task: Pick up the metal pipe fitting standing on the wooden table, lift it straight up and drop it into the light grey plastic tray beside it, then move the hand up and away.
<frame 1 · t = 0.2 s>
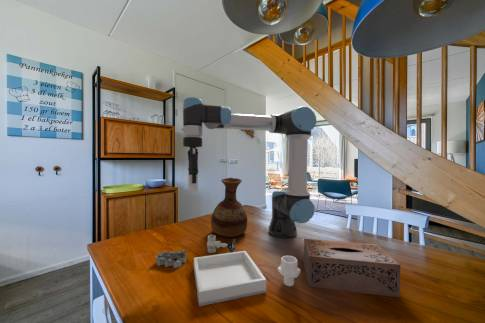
hand: (192, 189, 83), 28 cm above the table, tool pointing down, fingers open, 13 cm apart
grey open frame part: (171, 263, 79), on the table
tray: (226, 279, 69), on the table
pipe fitting: (288, 283, 67), on the table
brown vase: (229, 233, 111), on the table
valve: (220, 252, 88), on the table
tissue box cover: (345, 279, 70), on the table
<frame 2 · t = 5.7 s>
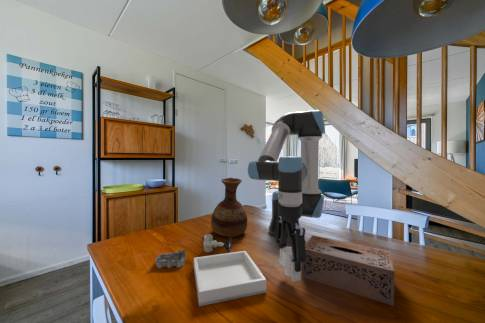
hand: (289, 273, 67), 3 cm above the table, tool pointing down, fingers closed on pipe fitting, 7 cm apart
pipe fitting: (289, 274, 67), point 3 cm above the table, touching gripper
valve: (216, 251, 89), on the table
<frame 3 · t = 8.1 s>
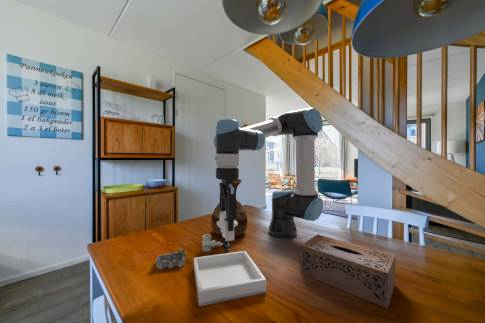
hand: (226, 235, 68), 15 cm above the table, tool pointing down, fingers closed on pipe fitting, 7 cm apart
pipe fitting: (227, 237, 68), point 14 cm above the table, touching gripper
when the fingers open (3 cm above the table, at t = 10.6 s): pipe fitting drops 2 cm, resting on tray.
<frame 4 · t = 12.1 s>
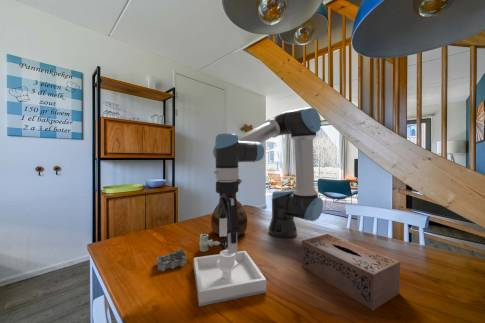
hand: (227, 243, 69), 12 cm above the table, tool pointing down, fingers open, 13 cm apart
pipe fitting: (226, 276, 69), point 1 cm above the table, touching tray
valve: (212, 251, 90), on the table
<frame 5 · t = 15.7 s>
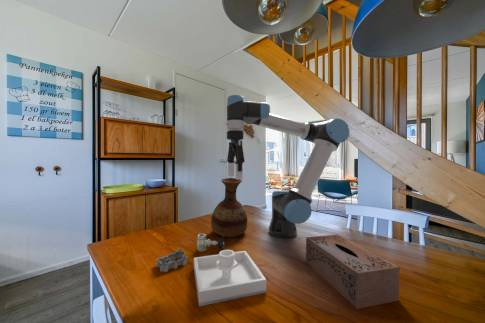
hand: (234, 177, 93), 32 cm above the table, tool pointing down, fingers open, 13 cm apart
valve: (210, 250, 90), on the table
at the end: pipe fitting inside the target area on the tray (0.3 cm from its centre), point 0.6 cm above the tray's base; the gripper is holding nothing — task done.
